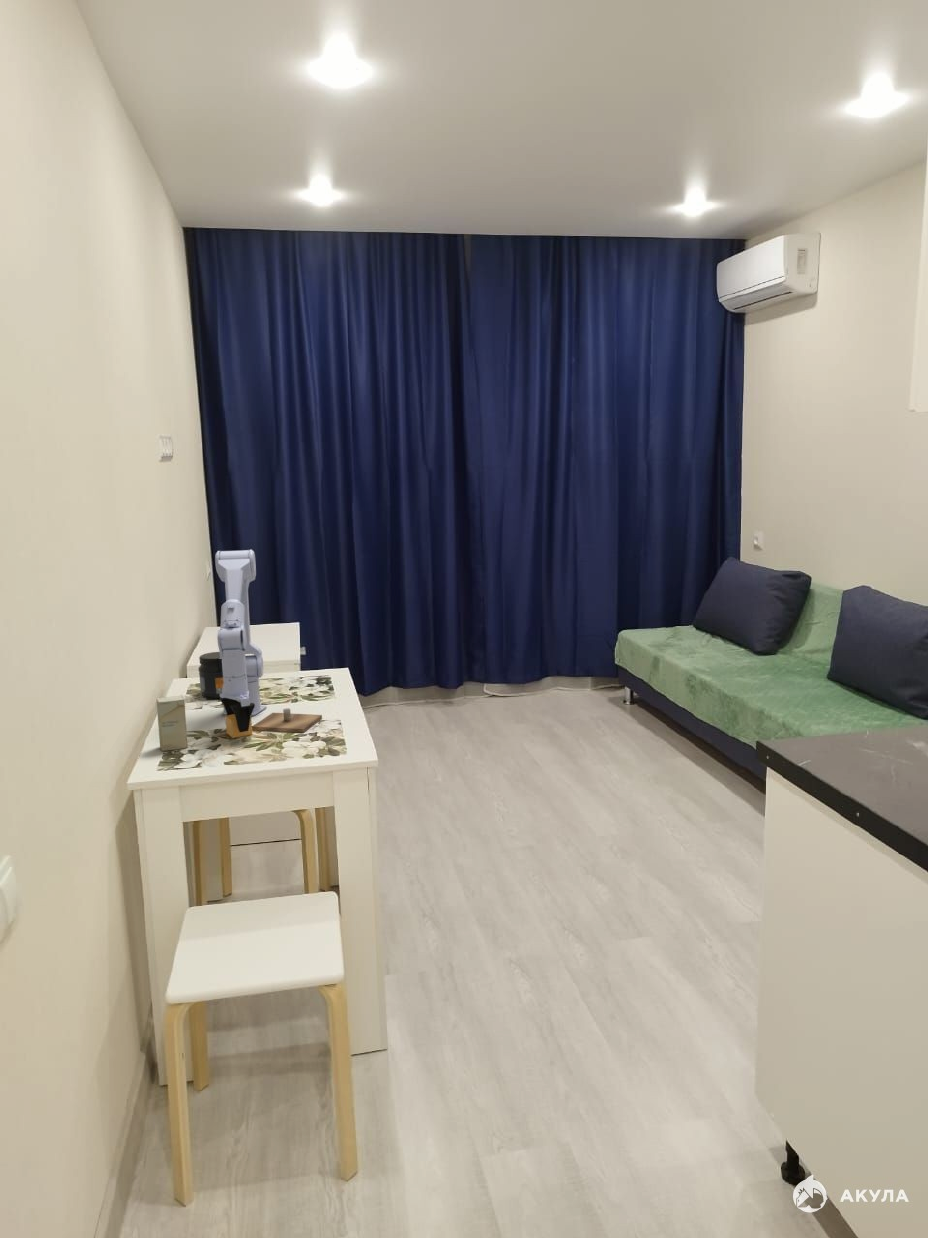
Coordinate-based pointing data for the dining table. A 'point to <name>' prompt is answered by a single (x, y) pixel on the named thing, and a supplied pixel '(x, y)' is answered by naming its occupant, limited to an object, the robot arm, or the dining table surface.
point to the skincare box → (172, 723)
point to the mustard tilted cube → (235, 727)
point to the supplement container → (211, 675)
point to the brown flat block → (287, 722)
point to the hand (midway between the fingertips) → (239, 727)
